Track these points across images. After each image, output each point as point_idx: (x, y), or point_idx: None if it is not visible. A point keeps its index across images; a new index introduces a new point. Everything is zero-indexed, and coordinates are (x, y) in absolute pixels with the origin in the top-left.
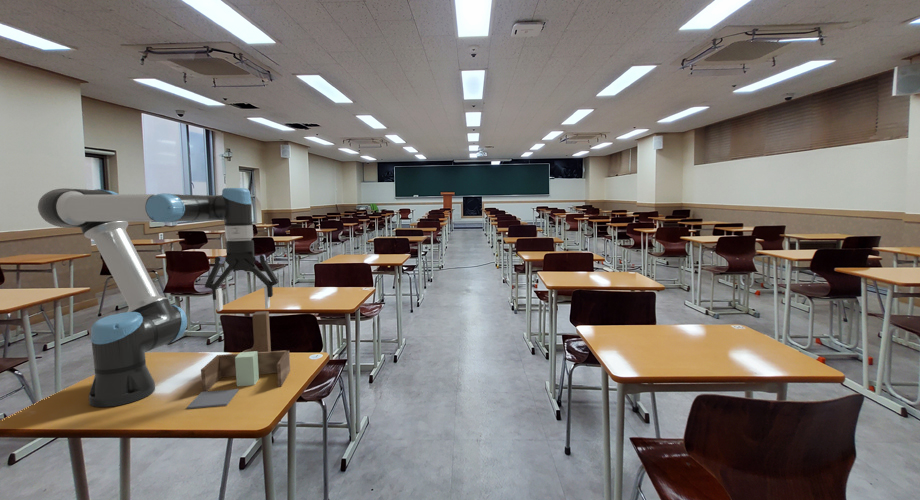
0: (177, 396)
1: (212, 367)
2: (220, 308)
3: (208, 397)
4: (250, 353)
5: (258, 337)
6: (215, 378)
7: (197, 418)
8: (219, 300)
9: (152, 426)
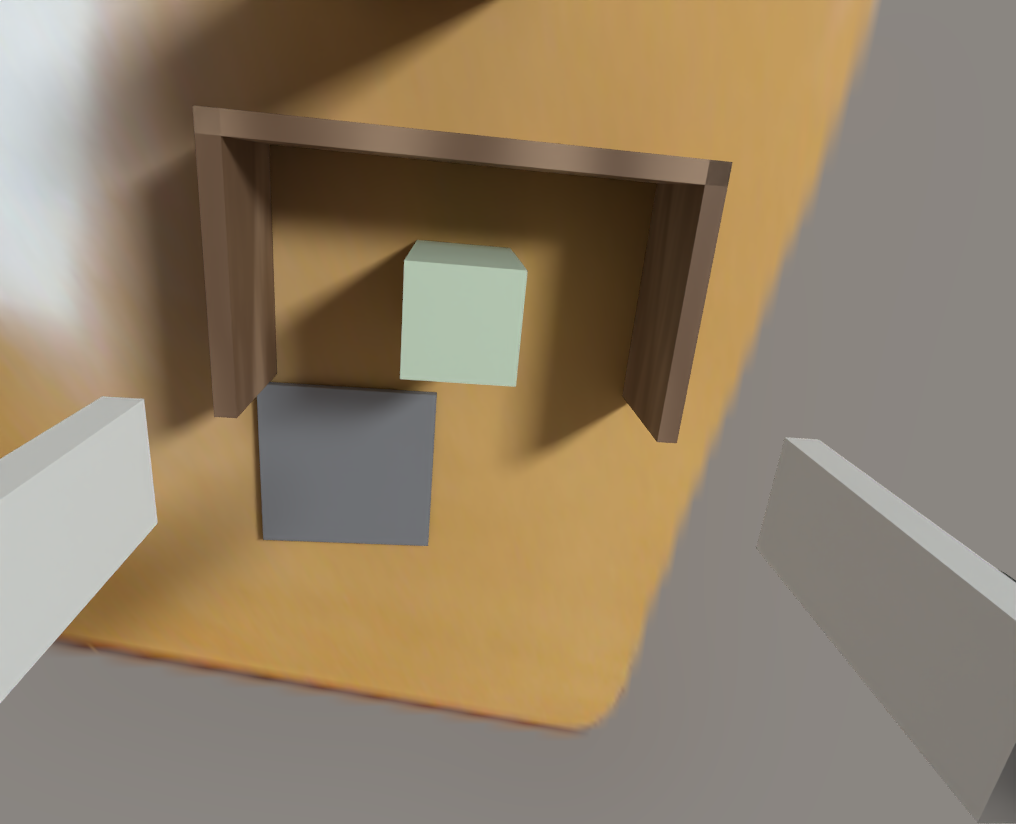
0: (144, 384)
1: (240, 285)
2: (140, 512)
3: (320, 462)
4: (487, 313)
5: None
6: (265, 237)
7: (348, 621)
8: (64, 606)
9: (202, 646)
